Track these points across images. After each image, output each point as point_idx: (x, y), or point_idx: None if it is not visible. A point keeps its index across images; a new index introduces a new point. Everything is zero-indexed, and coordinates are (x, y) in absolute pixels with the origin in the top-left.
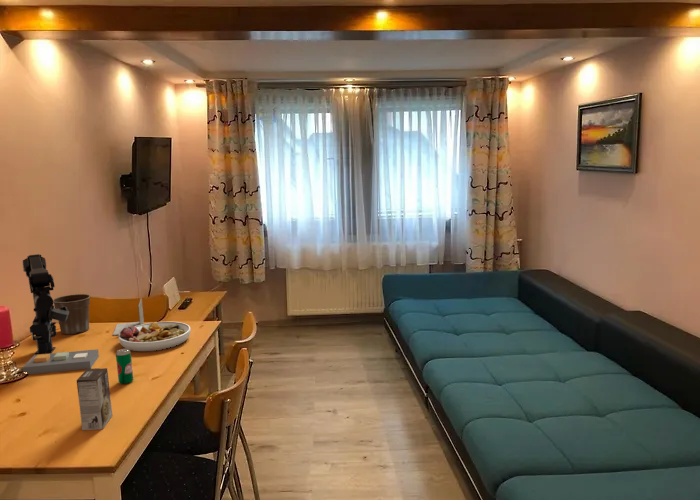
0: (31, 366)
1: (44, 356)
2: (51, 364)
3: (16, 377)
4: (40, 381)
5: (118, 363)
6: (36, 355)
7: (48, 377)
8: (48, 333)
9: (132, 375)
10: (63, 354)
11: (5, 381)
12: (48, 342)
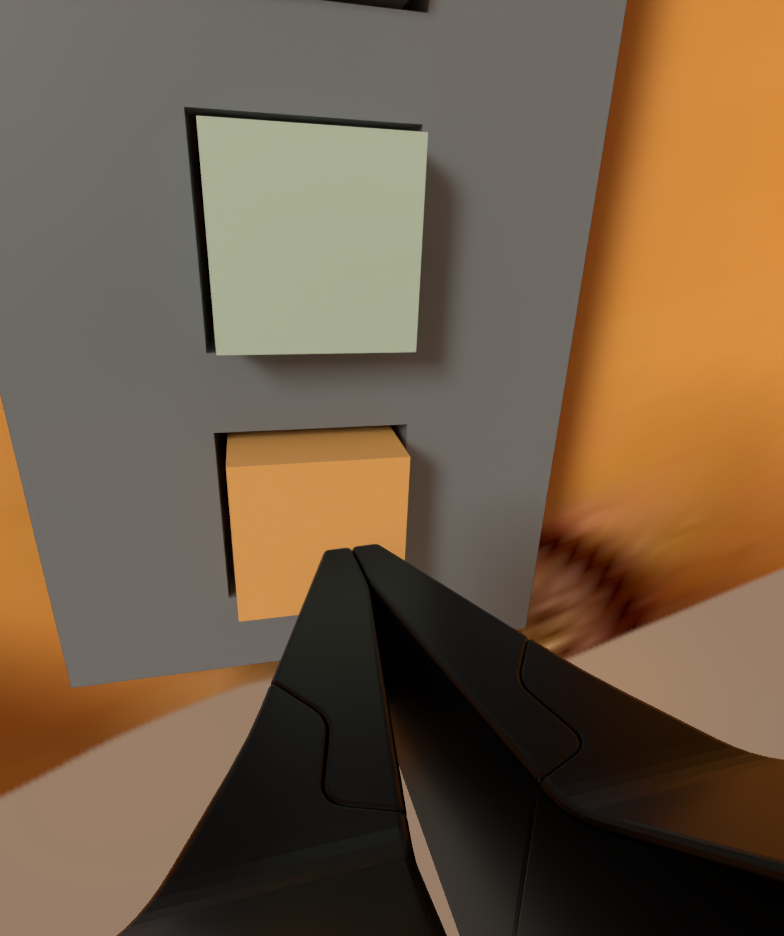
0: (533, 548)
1: (352, 500)
2: (565, 323)
3: (531, 607)
4: (744, 350)
5: None
6: (102, 655)
7: (673, 299)
8: (598, 696)
9: None
10: (337, 199)
11: (590, 649)
12: (377, 552)
